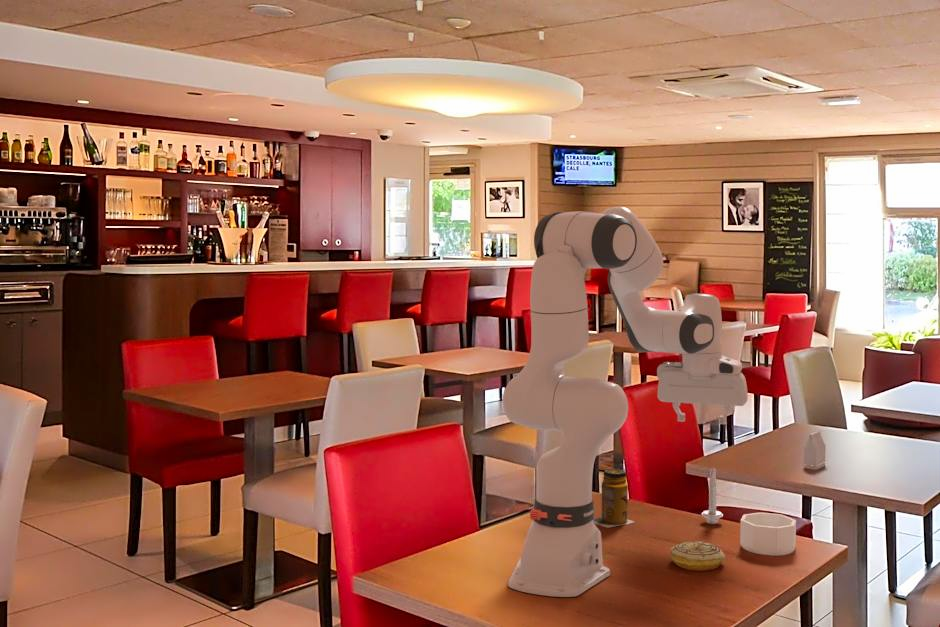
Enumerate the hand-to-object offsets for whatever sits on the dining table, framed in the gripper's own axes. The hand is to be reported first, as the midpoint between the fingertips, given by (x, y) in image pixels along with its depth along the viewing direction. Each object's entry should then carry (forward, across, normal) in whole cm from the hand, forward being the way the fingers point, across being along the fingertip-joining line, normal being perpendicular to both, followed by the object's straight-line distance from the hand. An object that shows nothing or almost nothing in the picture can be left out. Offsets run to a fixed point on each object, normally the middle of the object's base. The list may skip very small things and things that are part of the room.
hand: (701, 422), depth 222 cm
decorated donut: (+23, +4, -30) cm, 38 cm away
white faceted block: (+26, +21, +68) cm, 76 cm away
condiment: (+24, -20, -8) cm, 32 cm away
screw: (+24, +2, 0) cm, 24 cm away
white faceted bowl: (+23, +16, -14) cm, 32 cm away
